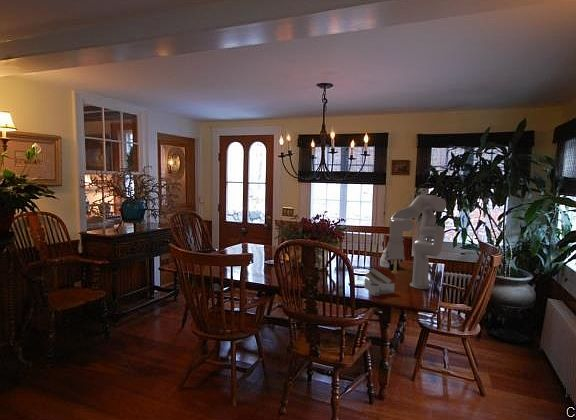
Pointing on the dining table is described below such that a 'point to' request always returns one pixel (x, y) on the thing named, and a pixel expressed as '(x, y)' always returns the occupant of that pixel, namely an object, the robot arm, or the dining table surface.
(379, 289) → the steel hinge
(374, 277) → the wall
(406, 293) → the dining table surface
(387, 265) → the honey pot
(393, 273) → the brass pin
